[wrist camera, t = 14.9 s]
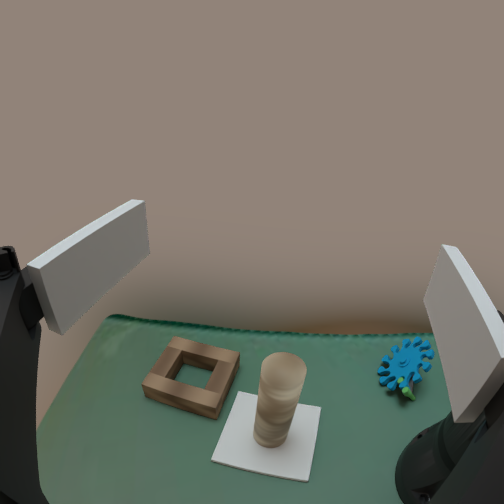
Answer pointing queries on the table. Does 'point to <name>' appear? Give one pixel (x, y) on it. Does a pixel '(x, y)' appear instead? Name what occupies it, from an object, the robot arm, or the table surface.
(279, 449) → the pad
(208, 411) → the pocket block
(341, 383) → the table surface
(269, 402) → the dowel
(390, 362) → the gear
